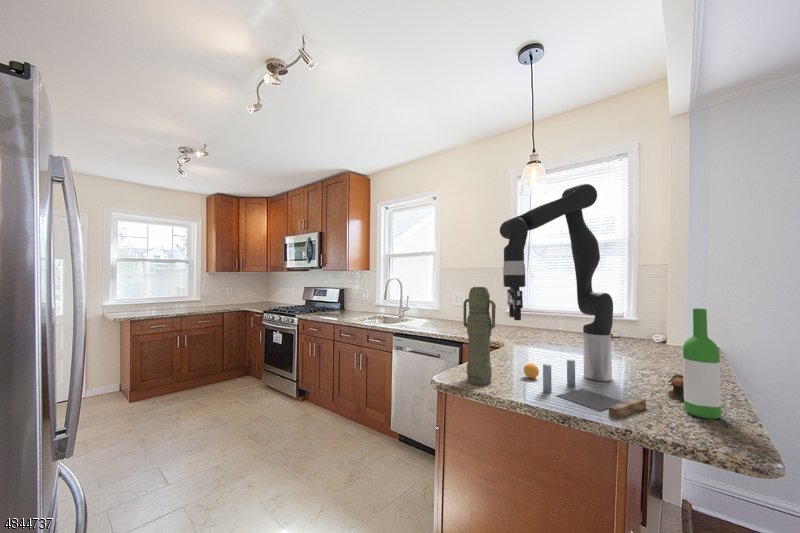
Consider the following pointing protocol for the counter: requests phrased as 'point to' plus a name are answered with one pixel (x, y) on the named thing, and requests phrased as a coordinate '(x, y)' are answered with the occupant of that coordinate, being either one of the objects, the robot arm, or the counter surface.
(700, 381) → the wine bottle
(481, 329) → the thermos
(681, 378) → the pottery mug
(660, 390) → the counter surface
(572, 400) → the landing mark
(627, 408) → the wall
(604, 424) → the counter surface
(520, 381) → the counter surface
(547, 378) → the post
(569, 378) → the post
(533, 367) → the ball
